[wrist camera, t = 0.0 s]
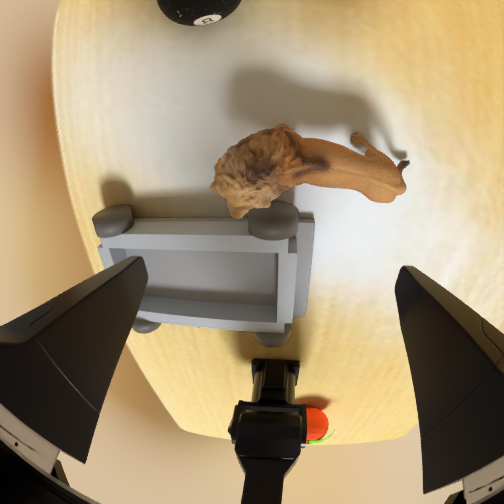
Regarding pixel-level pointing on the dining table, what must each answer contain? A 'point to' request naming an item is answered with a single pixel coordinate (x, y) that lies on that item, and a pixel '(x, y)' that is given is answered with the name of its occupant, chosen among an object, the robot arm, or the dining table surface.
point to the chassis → (216, 268)
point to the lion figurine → (301, 169)
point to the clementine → (316, 425)
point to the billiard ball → (197, 10)
